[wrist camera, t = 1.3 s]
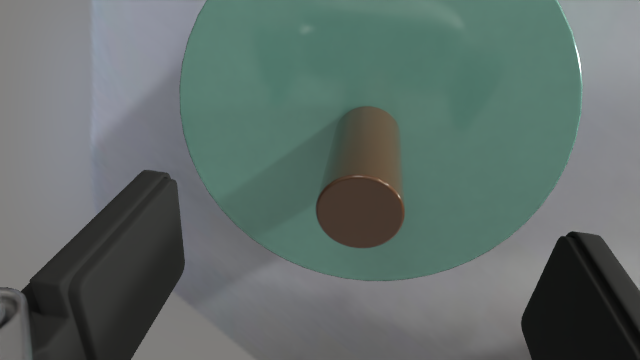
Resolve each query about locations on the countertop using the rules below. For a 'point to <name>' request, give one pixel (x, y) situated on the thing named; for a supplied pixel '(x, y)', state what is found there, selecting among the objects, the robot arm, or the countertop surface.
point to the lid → (380, 125)
